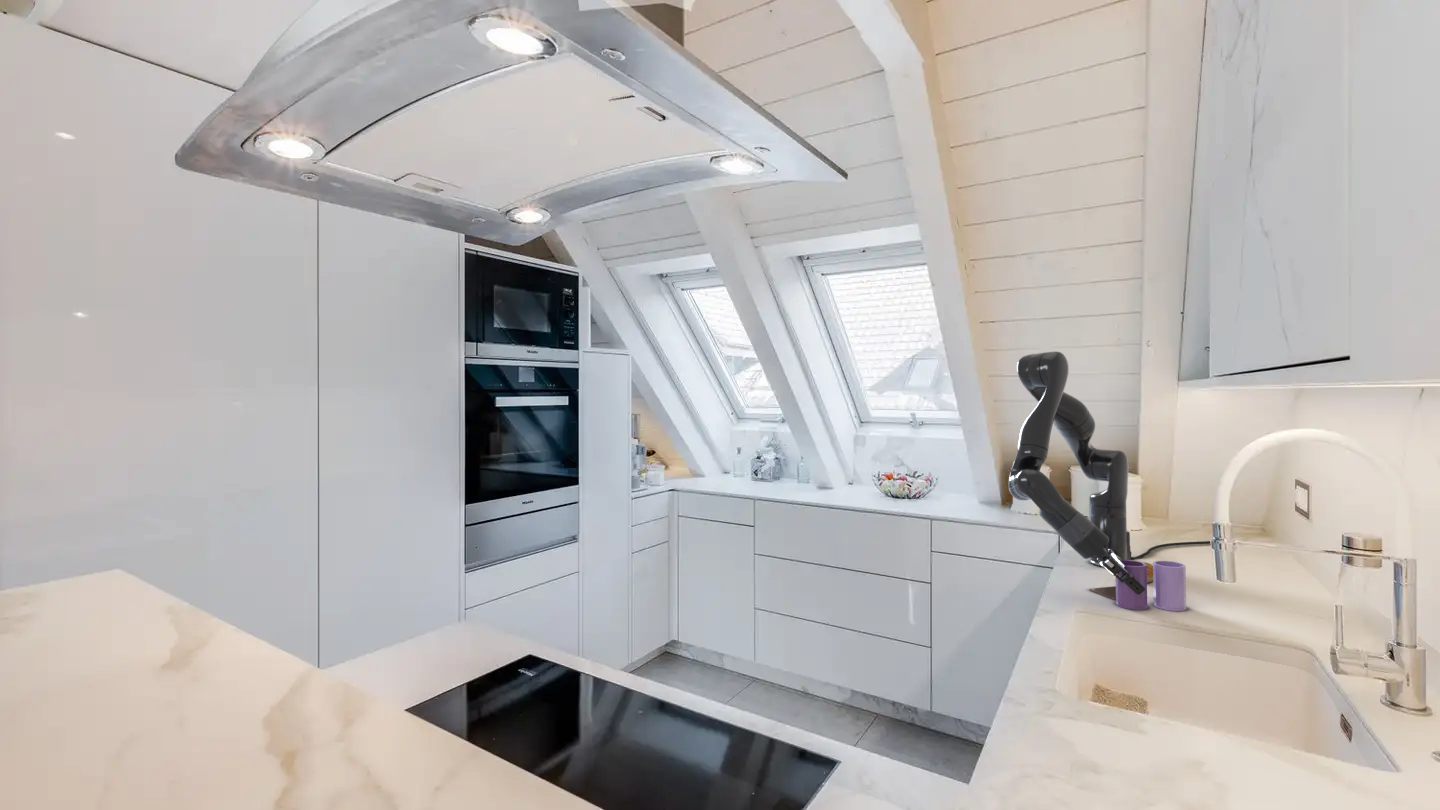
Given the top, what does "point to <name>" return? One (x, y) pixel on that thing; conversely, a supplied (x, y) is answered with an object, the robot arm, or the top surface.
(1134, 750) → the top surface
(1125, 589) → the plum cup
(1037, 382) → the robot arm
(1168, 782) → the top surface
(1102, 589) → the coaster
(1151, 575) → the pastry
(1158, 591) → the lilac cup
